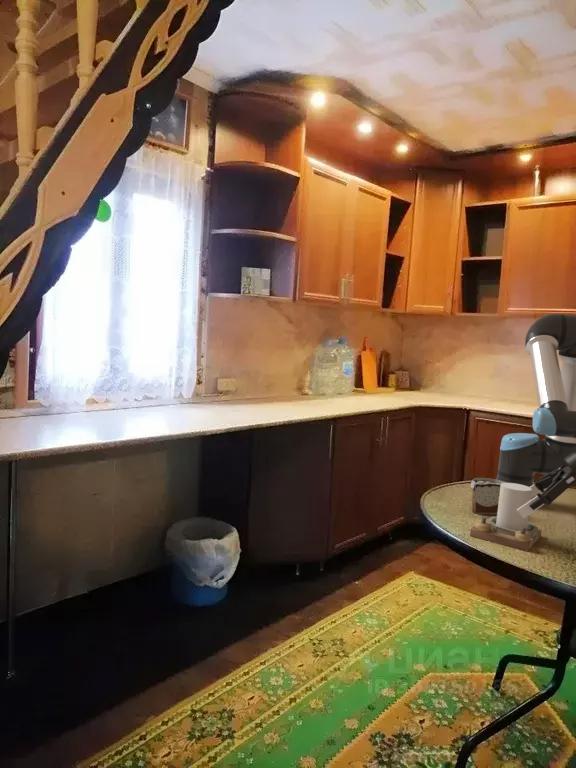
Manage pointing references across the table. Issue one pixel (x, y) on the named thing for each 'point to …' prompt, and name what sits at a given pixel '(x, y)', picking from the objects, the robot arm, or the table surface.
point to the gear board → (505, 533)
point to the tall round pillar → (512, 506)
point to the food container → (485, 495)
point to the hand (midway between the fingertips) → (519, 507)
